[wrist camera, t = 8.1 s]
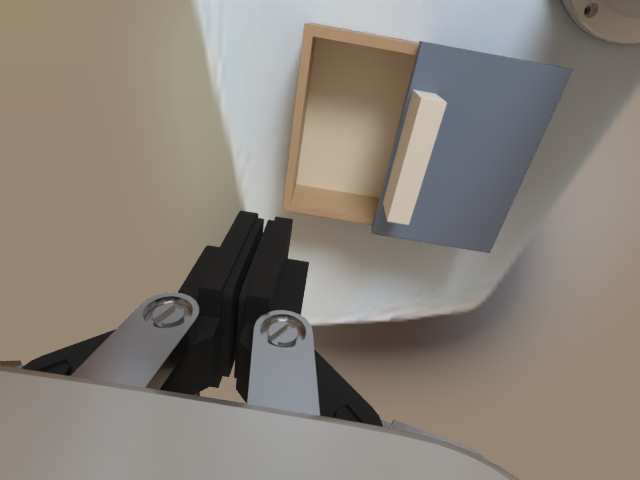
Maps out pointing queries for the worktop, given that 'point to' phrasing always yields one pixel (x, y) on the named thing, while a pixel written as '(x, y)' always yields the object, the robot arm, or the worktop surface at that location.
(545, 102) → the cabinet door panel
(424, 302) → the worktop surface
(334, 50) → the cabinet body box
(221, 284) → the robot arm
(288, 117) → the worktop surface
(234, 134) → the worktop surface
